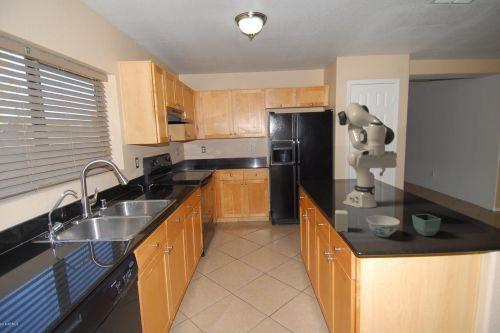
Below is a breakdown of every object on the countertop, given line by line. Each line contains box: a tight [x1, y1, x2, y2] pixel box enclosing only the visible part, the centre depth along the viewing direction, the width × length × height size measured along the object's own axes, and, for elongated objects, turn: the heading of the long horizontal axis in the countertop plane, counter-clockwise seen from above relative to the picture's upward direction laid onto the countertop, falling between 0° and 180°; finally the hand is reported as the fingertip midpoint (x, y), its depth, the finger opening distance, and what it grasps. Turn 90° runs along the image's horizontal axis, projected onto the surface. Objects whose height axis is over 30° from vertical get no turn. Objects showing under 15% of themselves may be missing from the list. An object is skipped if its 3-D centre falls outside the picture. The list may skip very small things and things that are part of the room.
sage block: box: [334, 209, 349, 233], centre depth 138 cm, size 6×6×10 cm
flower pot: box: [411, 213, 442, 237], centre depth 127 cm, size 9×9×9 cm
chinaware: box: [365, 214, 401, 238], centre depth 129 cm, size 15×15×8 cm
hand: (375, 175), depth 144 cm, fingers open, 4 cm apart
